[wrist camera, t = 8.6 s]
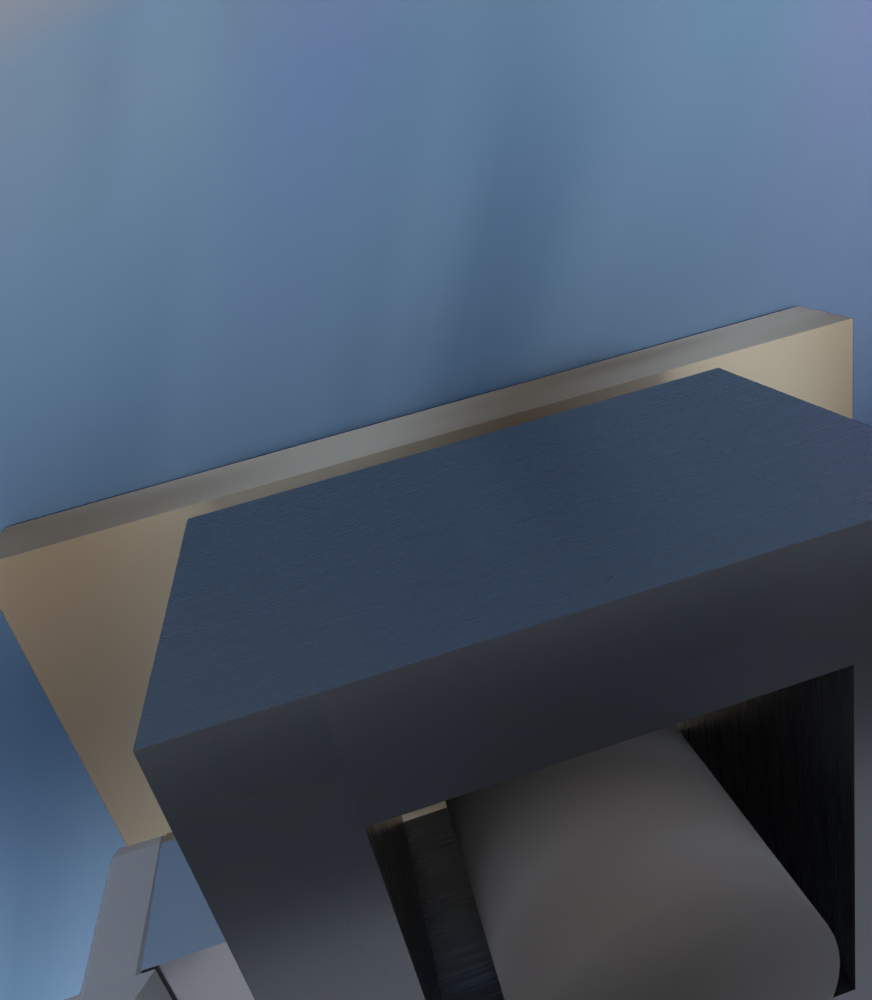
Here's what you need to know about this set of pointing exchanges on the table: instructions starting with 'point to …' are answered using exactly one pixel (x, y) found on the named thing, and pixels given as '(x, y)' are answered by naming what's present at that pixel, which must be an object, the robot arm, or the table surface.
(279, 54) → the table surface
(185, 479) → the post board
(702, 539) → the collar
